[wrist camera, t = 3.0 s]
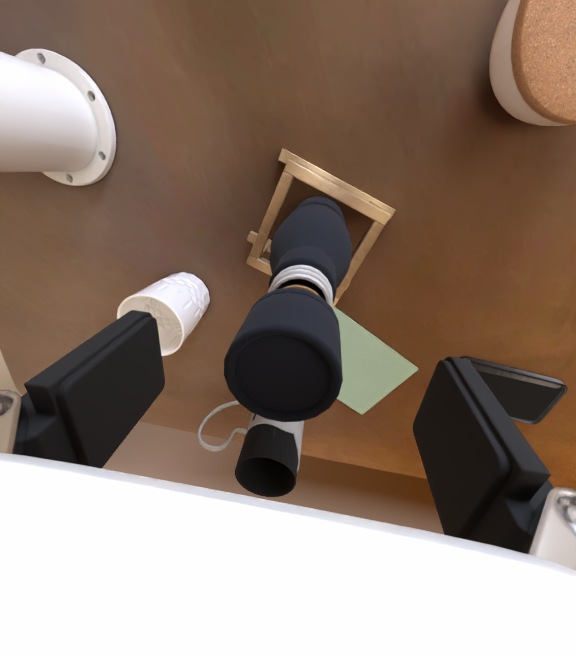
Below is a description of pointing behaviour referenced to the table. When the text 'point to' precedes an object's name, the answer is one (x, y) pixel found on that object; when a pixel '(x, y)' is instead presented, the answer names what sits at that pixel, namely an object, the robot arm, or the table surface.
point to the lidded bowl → (536, 61)
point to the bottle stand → (332, 188)
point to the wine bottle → (295, 320)
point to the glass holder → (265, 454)
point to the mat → (367, 366)
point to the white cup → (171, 307)
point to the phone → (520, 390)
